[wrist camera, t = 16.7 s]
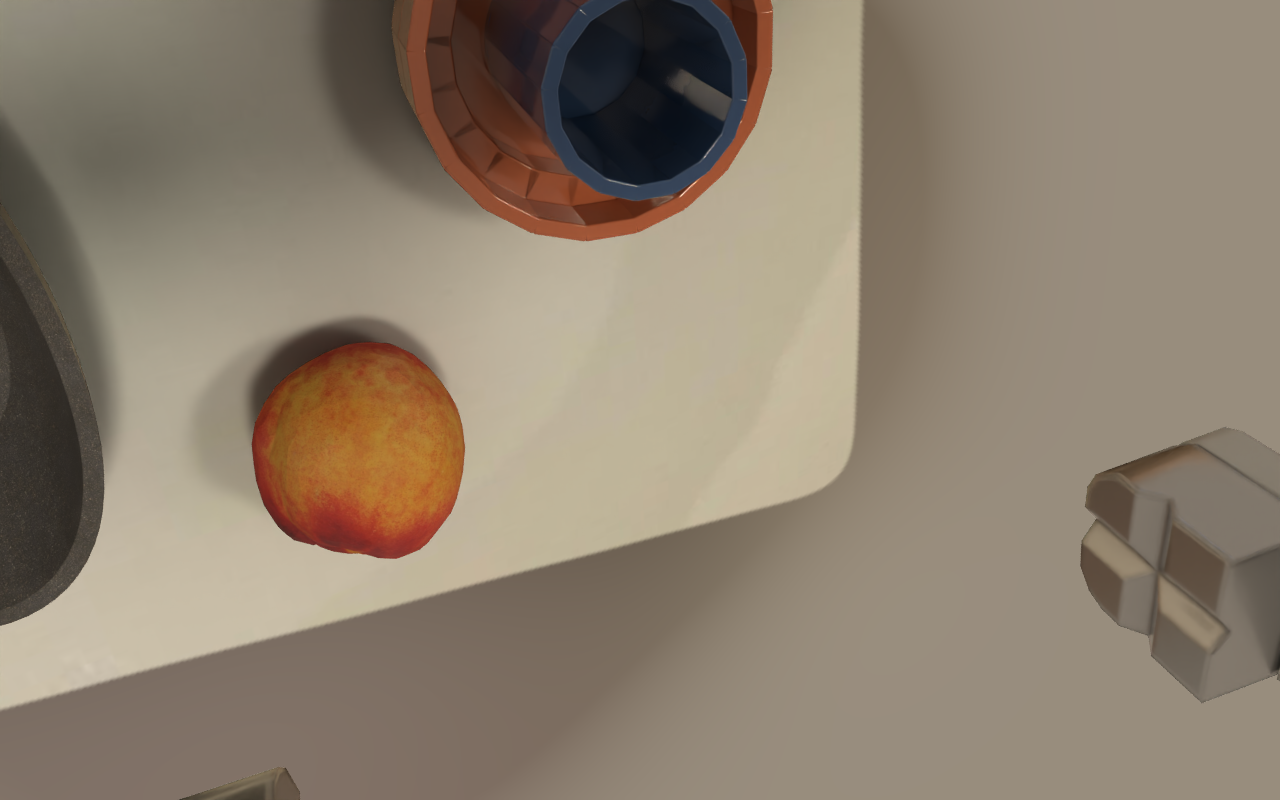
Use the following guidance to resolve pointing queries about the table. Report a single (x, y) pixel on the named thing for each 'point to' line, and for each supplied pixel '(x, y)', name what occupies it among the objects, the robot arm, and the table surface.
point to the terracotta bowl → (508, 148)
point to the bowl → (41, 441)
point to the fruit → (360, 452)
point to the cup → (622, 86)
